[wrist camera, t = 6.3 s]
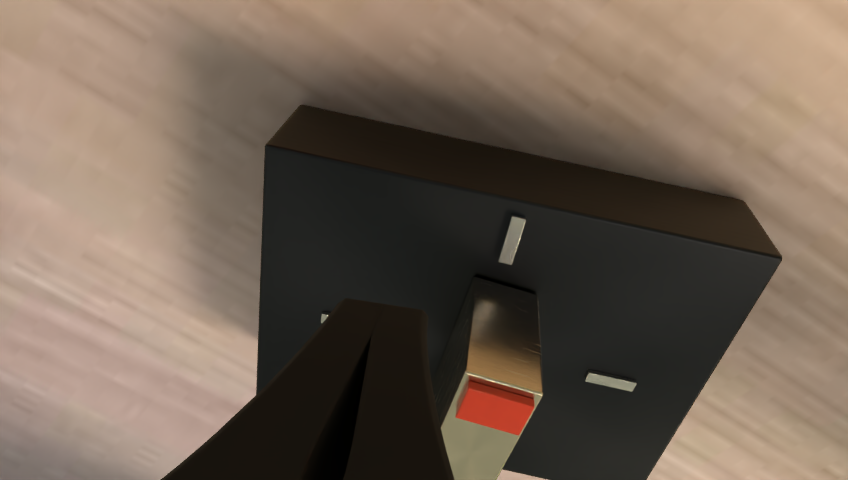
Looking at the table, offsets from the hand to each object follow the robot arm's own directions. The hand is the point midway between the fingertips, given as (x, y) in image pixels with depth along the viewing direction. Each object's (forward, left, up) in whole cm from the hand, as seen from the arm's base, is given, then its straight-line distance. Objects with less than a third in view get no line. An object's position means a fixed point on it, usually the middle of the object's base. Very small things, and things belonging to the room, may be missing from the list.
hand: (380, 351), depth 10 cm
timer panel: (+2, -5, -9) cm, 11 cm away
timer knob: (+2, -5, -6) cm, 8 cm away
